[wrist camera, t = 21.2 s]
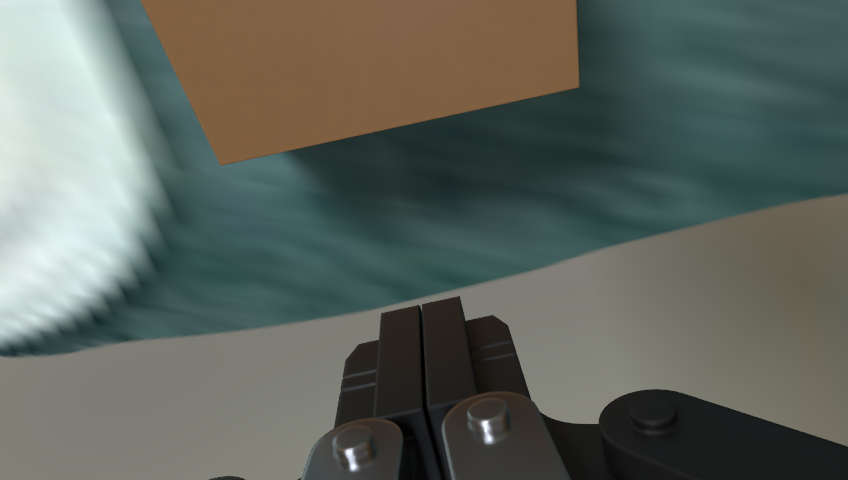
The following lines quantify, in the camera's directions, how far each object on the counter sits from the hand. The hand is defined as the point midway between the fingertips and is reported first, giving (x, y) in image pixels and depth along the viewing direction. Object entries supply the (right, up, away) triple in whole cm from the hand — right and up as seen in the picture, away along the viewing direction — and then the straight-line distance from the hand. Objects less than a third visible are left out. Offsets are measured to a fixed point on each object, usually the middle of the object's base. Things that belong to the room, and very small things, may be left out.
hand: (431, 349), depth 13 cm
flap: (-2, +10, +12) cm, 16 cm away
